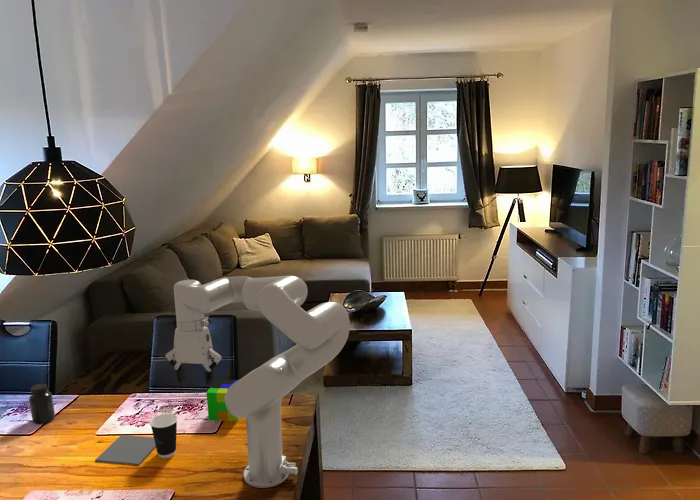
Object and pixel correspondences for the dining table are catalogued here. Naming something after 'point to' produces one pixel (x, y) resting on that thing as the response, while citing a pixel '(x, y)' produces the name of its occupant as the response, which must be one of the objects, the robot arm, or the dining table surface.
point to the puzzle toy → (219, 401)
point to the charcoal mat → (128, 450)
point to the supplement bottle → (41, 404)
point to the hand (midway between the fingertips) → (195, 381)
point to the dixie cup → (164, 434)
